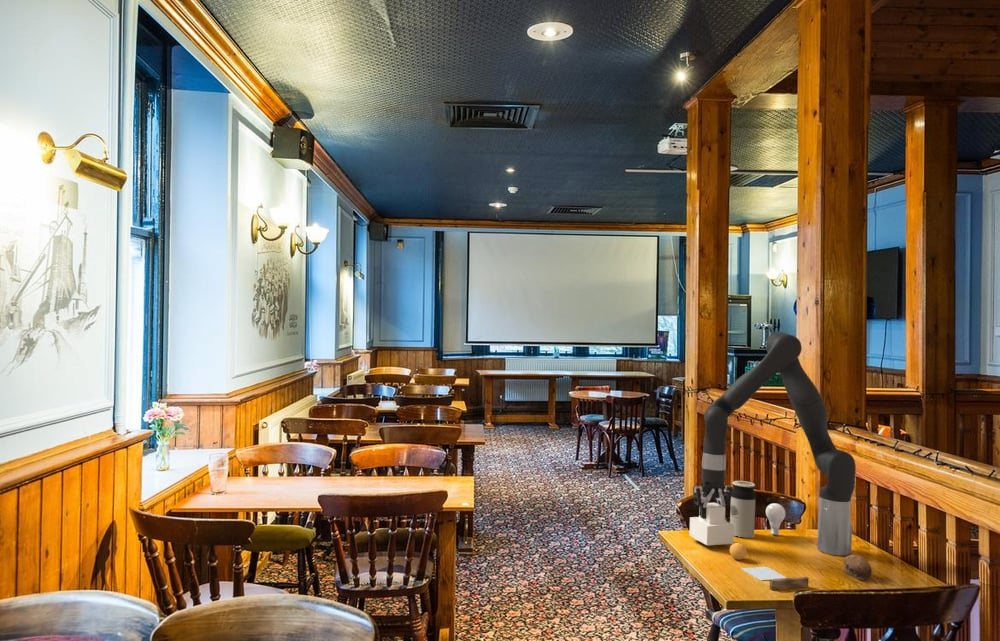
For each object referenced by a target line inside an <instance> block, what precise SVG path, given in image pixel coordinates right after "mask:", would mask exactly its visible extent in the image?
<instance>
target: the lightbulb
mask: <svg viewBox="0 0 1000 641" xmlns="http://www.w3.org/2000/svg"><path fill="white" fill-rule="evenodd" d="M765 515H766V516H765V517H767V520H768V521H769V526H770V534H771V535H773V536H777V535H779V534H780V527H781V524H782V522H783V520H784V519H785V517H786V510H785V508H784V507H783V505H781V504H779V503H770V504H768V505H767V506H766V509H765Z"/></svg>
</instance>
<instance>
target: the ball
mask: <svg viewBox="0 0 1000 641" xmlns="http://www.w3.org/2000/svg"><path fill="white" fill-rule="evenodd" d="M729 553H730V555H731V557H732V559H734V560H738V561H741V560H743V559H745V558H746V557H747V554H748V552H747V548H746V546H745V545H744V544H742V543H741V542H735V543H734V544H730V546H729Z"/></svg>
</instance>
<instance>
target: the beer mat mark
mask: <svg viewBox="0 0 1000 641" xmlns="http://www.w3.org/2000/svg"><path fill="white" fill-rule="evenodd" d="M740 570H741V571H743V572H745V573H747V574H749V575H750V576H752V577H754V578H755V579H757V580H759V581H761V582H762V581H763V580H765V581H770V580H772V579H783V578H788V577H787V576H785V575H783V574H781V573H780V572H777V571H775V570H774V569H772V568H770V567H768V566H758V567H757V566H756V567H742V568H740Z"/></svg>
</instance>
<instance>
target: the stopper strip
mask: <svg viewBox="0 0 1000 641" xmlns="http://www.w3.org/2000/svg"><path fill="white" fill-rule="evenodd" d="M809 582H810V581H809V577H807V576H800V577H787V578H785V579H773V580H769V590H771V591H777V590H776V589H781V590H787V589H786V588H793V589H802V588H803V589H804V588H809Z"/></svg>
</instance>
